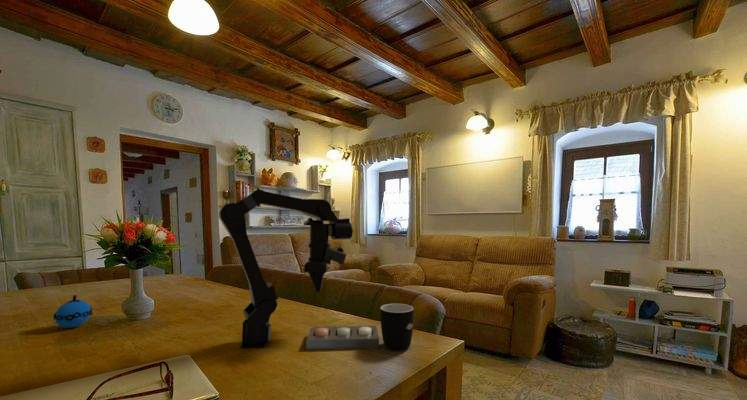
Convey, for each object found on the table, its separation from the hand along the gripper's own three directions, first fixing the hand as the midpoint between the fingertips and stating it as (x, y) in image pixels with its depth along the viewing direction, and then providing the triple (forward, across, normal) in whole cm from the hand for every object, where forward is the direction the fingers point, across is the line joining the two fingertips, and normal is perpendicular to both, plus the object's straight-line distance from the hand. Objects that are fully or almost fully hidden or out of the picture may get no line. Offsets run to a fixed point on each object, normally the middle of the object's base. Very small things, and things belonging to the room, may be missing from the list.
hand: (318, 291), depth 94 cm
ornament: (+12, +9, +78) cm, 79 cm away
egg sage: (+12, -8, -8) cm, 16 cm away
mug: (+12, -11, -23) cm, 28 cm away
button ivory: (+11, -8, -14) cm, 20 cm away
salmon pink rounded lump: (+12, -8, -2) cm, 14 cm away
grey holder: (+12, -8, -8) cm, 16 cm away
